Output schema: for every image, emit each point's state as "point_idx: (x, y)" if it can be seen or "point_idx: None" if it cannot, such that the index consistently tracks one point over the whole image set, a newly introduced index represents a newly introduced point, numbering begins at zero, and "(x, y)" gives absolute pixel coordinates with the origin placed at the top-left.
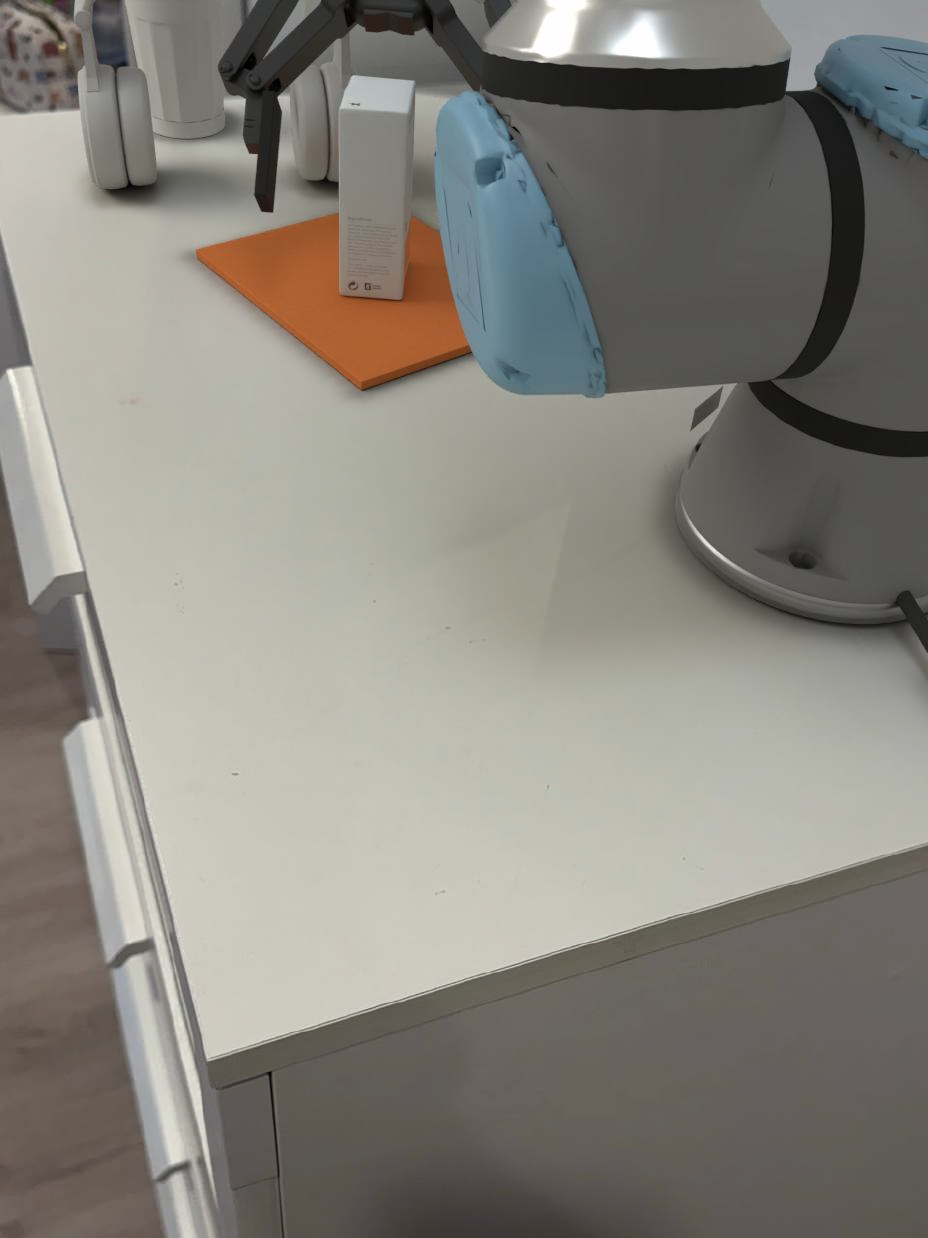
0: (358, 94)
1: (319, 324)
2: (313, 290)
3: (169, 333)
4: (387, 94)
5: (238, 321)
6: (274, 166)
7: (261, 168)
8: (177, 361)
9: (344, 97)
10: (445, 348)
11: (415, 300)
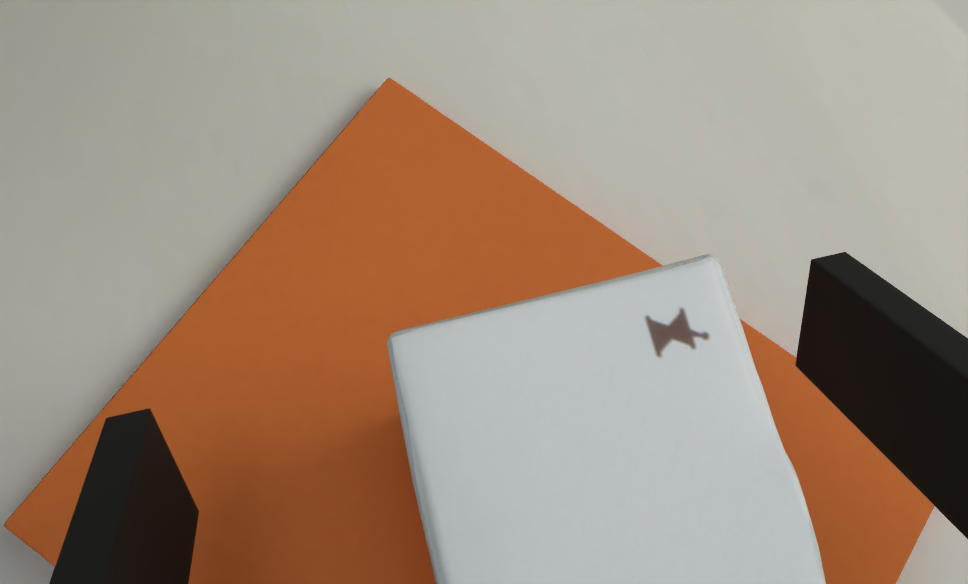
0: (718, 481)
1: (547, 246)
2: None
3: (804, 151)
4: (578, 549)
5: (712, 238)
6: (882, 407)
7: (887, 296)
8: (738, 71)
9: (764, 413)
10: (260, 248)
11: (383, 430)
